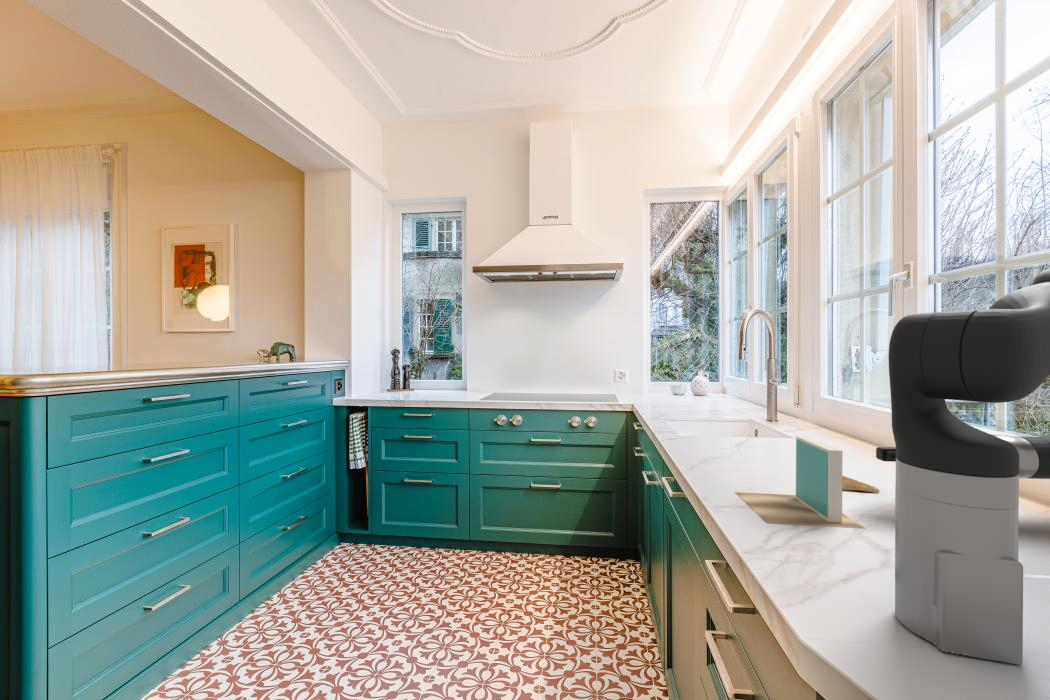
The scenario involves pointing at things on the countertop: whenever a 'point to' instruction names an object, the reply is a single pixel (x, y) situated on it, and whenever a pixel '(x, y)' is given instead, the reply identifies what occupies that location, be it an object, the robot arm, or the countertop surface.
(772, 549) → the countertop surface
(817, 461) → the tile
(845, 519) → the plate
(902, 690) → the countertop surface
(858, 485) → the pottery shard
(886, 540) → the countertop surface
